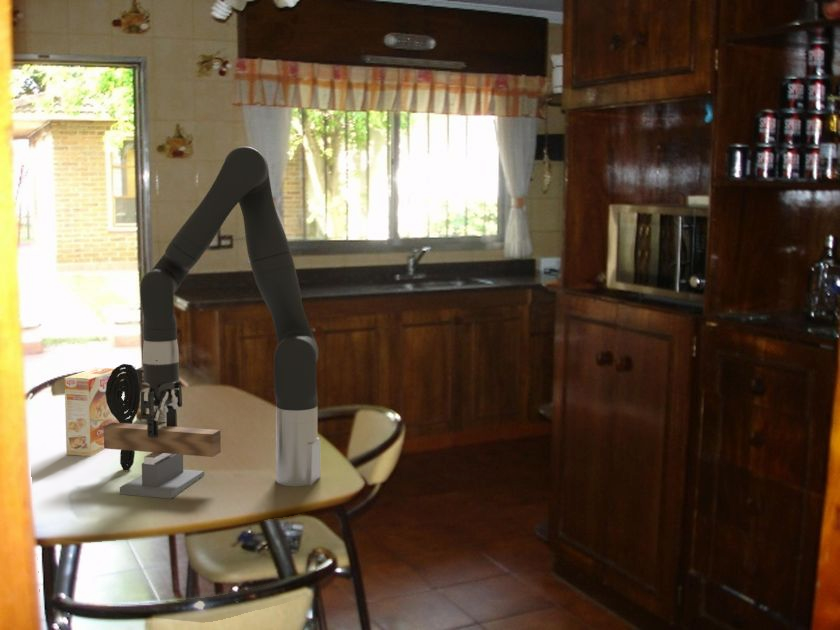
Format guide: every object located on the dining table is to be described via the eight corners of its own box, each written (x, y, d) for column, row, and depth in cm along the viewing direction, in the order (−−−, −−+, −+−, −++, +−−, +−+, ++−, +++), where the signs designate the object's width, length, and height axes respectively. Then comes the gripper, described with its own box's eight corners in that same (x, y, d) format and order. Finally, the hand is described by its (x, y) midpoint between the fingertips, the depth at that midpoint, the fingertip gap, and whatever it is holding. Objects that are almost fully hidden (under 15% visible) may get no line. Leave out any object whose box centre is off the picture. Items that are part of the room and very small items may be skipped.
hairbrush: (147, 468, 221) (145, 363, 218) (140, 472, 217) (138, 366, 214) (114, 466, 222) (111, 362, 219) (107, 470, 218) (104, 365, 215)
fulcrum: (204, 477, 214) (203, 443, 213) (170, 498, 199) (170, 461, 198) (156, 473, 217) (155, 439, 216) (119, 493, 201) (118, 457, 201)
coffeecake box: (91, 456, 230) (89, 378, 228) (65, 455, 231) (62, 377, 229) (121, 441, 245) (119, 368, 243) (96, 440, 246) (94, 367, 244)
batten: (220, 452, 206) (220, 430, 205) (212, 457, 202) (212, 434, 202) (113, 444, 212) (113, 422, 211) (104, 448, 208) (103, 426, 207)
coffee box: (135, 425, 262) (133, 369, 261) (145, 420, 269) (144, 365, 267) (165, 427, 261) (164, 370, 259) (175, 422, 267) (174, 366, 265)
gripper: (160, 366, 197) (162, 441, 199) (191, 355, 211) (193, 426, 213) (128, 364, 198) (130, 439, 200) (161, 354, 212) (162, 424, 214)
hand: (162, 432), depth 206 cm, fingers open, 8 cm apart
